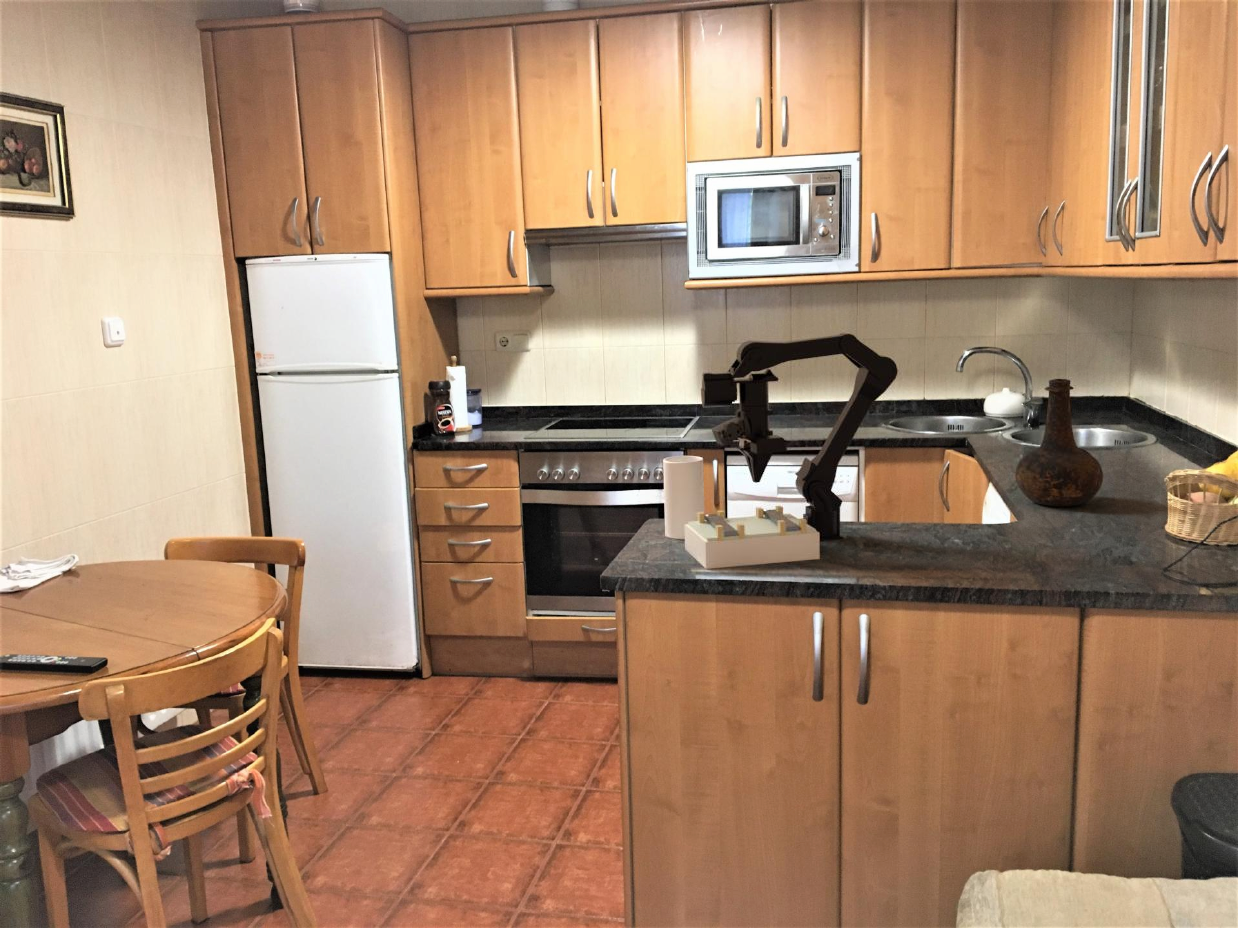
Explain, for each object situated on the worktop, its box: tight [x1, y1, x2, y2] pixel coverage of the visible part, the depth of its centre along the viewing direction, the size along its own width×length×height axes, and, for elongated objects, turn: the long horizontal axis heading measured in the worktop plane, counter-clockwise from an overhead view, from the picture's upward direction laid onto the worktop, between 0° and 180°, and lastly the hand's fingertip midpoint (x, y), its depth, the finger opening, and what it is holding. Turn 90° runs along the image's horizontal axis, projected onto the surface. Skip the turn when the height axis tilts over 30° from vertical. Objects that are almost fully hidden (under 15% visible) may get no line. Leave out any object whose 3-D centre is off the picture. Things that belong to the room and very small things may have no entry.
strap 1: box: [704, 513, 737, 536], centre depth 193 cm, size 14×2×1 cm, turn 11°
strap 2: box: [763, 508, 799, 531], centre depth 195 cm, size 14×2×1 cm, turn 11°
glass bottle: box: [1014, 378, 1104, 508], centre depth 227 cm, size 18×18×28 cm
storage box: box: [684, 505, 820, 570], centre depth 194 cm, size 22×15×8 cm
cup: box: [662, 455, 705, 540], centre depth 211 cm, size 8×8×16 cm
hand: (756, 482), depth 204 cm, fingers closed
